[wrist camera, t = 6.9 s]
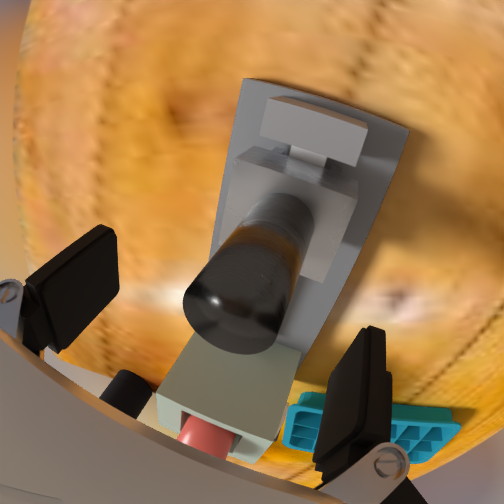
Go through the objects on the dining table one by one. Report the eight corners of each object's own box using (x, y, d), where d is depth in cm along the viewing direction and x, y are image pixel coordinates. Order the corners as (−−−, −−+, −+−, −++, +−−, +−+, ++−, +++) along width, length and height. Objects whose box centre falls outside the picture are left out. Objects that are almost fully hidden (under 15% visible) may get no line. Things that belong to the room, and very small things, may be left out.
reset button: (253, 395, 23) (226, 459, 18) (243, 415, 25) (219, 471, 20) (206, 376, 24) (173, 436, 19) (202, 398, 26) (173, 451, 21)
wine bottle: (142, 374, 41) (36, 531, 17) (158, 399, 44) (67, 544, 20) (112, 365, 44) (10, 504, 19) (129, 390, 47) (40, 520, 22)
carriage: (358, 175, 17) (351, 296, 8) (330, 246, 20) (293, 392, 11) (259, 141, 18) (147, 220, 9) (243, 214, 21) (148, 330, 12)
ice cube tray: (295, 381, 32) (288, 403, 29) (463, 402, 26) (465, 424, 24) (287, 428, 38) (281, 446, 35) (424, 446, 32) (424, 464, 30)
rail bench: (408, 128, 16) (459, 179, 8) (290, 379, 31) (261, 466, 22) (251, 78, 18) (153, 83, 9) (201, 343, 32) (153, 421, 24)
